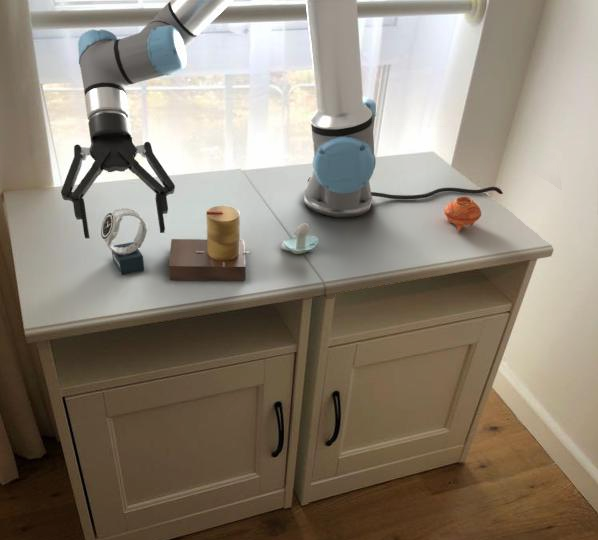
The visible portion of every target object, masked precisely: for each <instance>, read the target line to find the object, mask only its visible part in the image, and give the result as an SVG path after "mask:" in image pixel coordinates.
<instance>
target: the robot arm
mask: <svg viewBox="0 0 598 540" xmlns="http://www.w3.org/2000/svg"><path fill="white" fill-rule="evenodd" d="M233 1H234V0H170V1H169V2H167V4H165V5H164V7H162V9H161V10H159V11H158V12H157V13H156V14H155V15H154V16H153V17H152V19H150V21H149V22H148V23H147V24H146V25H145V26H144V28H142V29H141V30H140V32H138V33H135V34H132V35H129V36H125V37H122V38H118V37H117V36H116V34H114V33H113V32H111V31H109V30H106V29H99V30H97V29H90V30H87V31H85V32H83V33H82V34H81V35H80V36H79V39H78V41H77V48H78V65H79V68H80V75H81V80H82V85H83V92H84V93H83V94H84V102H85V110H86V117H87V120H88V124H87V125H88V128H89V129H88V131H89V137H90V146H89V147H84V146H83V147H82V146H81V144H75V145H74V146H73V159H72V161H71V164H70V167H69V169H68V172H67V175H66V177H65V180H64V182H63V185H62V188H61V191H60V194H61V198H62V199H63V201H69V202H72V207H73V213H74V217H75V219H76V220H77V221H79V220H81V222H82V228H83V230H82V231H83V235H84V239H90V232H89V225H88V218H87V211H86V203H85V199H84V196H85V195H86V194H87V192H88V191H89V189H91V187H92V185H94V183H95V181H96V180H97V179H98V177H99V176H101V174H102V172H103V171H106V172H107V173H113V172H125V171H126V170H129V171H130V172H131V173H132V174H134V175H136V176H137V177H138V178H139V180H141V181H142V182H143V183H144V184H145V185H146V186H147V187H148V188H149V189H151V190H152V192H154V193H155V198H154V199H155V205H156V213H157V219H158V227H159V233H160V234H165V230H166V226H165V220H164V215H166V214H168V212H169V206H168V199H167V196H169V195H173V194H175V188H176V185H175V183H174V182H173V180H172V179H171V177H170V175H169V174H168V173H167V171H166V170H165V168H164V166H163V165H162V164H161V163H160V161H159V160H158V158H157V156H156V155H155V154H154V152H153V147H152V144H151V142H150V141H145V142H144V143H143V144H139V145H136V144H135V142H134V140H133V131H132V126H131V125H132V124H131V120H130V110H129V104H128V97H127V89H126V87H127V86H130V85H134V84H137V83H140V82H146V81H149V80H152V79H153V80H154V79H156V78H160V77H164V76H170V75H172V74H174V73H177V72H179V71H182V70H184V69H185V67H186V65H187V51H186V48H187V47H188V46H189V45H190V44H191V43H192V42H193V41H194V40H195V39H196V38H197V37H198V36H199V35H200V34H201V33H202V32H203V31H204V30H205V29H206V28H207V27H208V26H209V25H210V24H211V23H212V22H213V21H214V20H216V18H217V17H218V16H219V15H220V14H221V13H222V12H223V11H224V10H226V8H227V7H228V6H230V5H231V3H233ZM357 2H358V0H305V7H306V16H307V26H308V34H309V44H310V53H311V61H312V62H311V63H312V71H313V72H312V73H313V81H314V90H315V98H316V99H315V100H316V111H315V112H314V113H313V115H312V116H311V118H310V127H311V135H312V136H311V137H312V144H313V155H314V156H313V158H312V159H313V160H312V168H313V171H312V173H311V176H309V177H308V180H307V185H306V187H305V189H304V198H303V202H304V204H305V205H306V206H307V207H308V208H309V209H310V210H311V211H313V212H315V213H317V214H320V215H323V216H327V217H331V218H338V219H339V218H343V219H347V218H355V217H359V216H362V215H365V214H366V213H367V212H369V211H370V209H371V207H372V201H373V197H377V198H384V199H393V200H417V199H418V200H419V199H426V198H429V197H432V196H434V195H436V194H437V195H438V194H439V193H445V192H452V193H453V192H455V193H463V194H473V195H475V194H476V195H477V194H483V193H488V192H492V191H493V192H496V193H497V194H499V195H503V194H504V192H503V191H502V189H501V188H500V187H497V186H488V187H485V188H480V189H467V188H460V187H441V188H437V189H433V190H432V191H429V192H426V193H421V194H405V195H404V194H390V193H385V192H375V191H372V190H371V185H370V180H371V178H372V177H373V174H374V170H375V168H376V155H375V143H374V142H375V137H374V130H375V121H376V117H377V103H376V102H375V100H373V99H372V98H369V97H367V96H364V93H363V78H362V64H361V63H362V61H361V49H360V45H361V44H360V33H359V31H360V30H359V15H358V3H357ZM137 154H139V155H141V157H142V158H145V159H146V162H147V163H148V165H149V166H150V168H151V169H152V171H153V172H154V174H155V175H156V177H157V178H158V179H159V181H160V182H159V181H158V180H157V179H155V177H153V175H152V174H150V173H149V172H148V171H147V170H146V169H145V168H144V167H143V166H142V165H140V163H139V162H138V161H137V160H136V157H137ZM88 156H90V157H91V158H92V159H93V160H94V161H93V163H92V164H91V167H90V168H89V170H88V171H87V172H86V174H85V175H84V177H83V178H82V179H81V181H80V182H79V184H78V185H77V186H76V188H75V189H74V187H75V185H76V181H77V179H78V176H79V174H80V171H81V168H82V165H83V161H86V160H87V158H88ZM161 183H162V184H161ZM73 190H74V191H73Z"/></svg>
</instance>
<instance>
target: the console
mask: <svg viewBox="0 0 598 540" xmlns="http://www.w3.org/2000/svg"><path fill="white" fill-rule="evenodd" d="M246 254H251V251H246V250H245V240H244V239H240V244H239V255H238V256H237V257H236V258H234V259H232V260H226V261H222V260H216V259H213V258H211V257H210V256H209V255H208V248H207V239H203V238H202V239H201V238H199V239H198V238H197V239H196V238H195V239H193V238H171V239H170V250H169V258H168V259H169V260H168V261H169V262H168V276H169V281H238V282H239V281H243V282H245V281H246V270H247V269H246Z"/></svg>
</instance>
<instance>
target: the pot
mask: <svg viewBox="0 0 598 540" xmlns="http://www.w3.org/2000/svg"><path fill="white" fill-rule="evenodd" d="M443 212H444V215H445V216H446V218H447V221H448V222H449V223H452V224H455V225H456V231H457V232H459V233H460V232H461V230H462V228H463V226H473V225H474V224H475V223H476V222H477V221H478V220H479V219H480V218H481V217H482V211H481V208H480V206H479V205H478V204H477V203H476V202H475V201H474V199H472V198H471V197H468V196H459V197H457V198H456V199H454V200H453V201H450V202H449V203H448V204H447V205H446V206H445V207H444V210H443Z"/></svg>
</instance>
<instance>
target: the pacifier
mask: <svg viewBox="0 0 598 540" xmlns="http://www.w3.org/2000/svg"><path fill="white" fill-rule="evenodd" d="M309 230H310V228H309V225H308V224H307V223H304V222H303V223H301V224H298V226H297V227H296V228H295V230H294V236H295V237H294V238H289V239H284V240H283V242H282V243H281V245H280V247H281V249H282V250H284V251H287V252H291V253H293V254H296V255H301V254H305V253H306V252H308V251H312V250H314V249H315V248H317V246H318V243H319V238H318V237H317V236H315V235H308V233H309V232H310V231H309Z"/></svg>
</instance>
